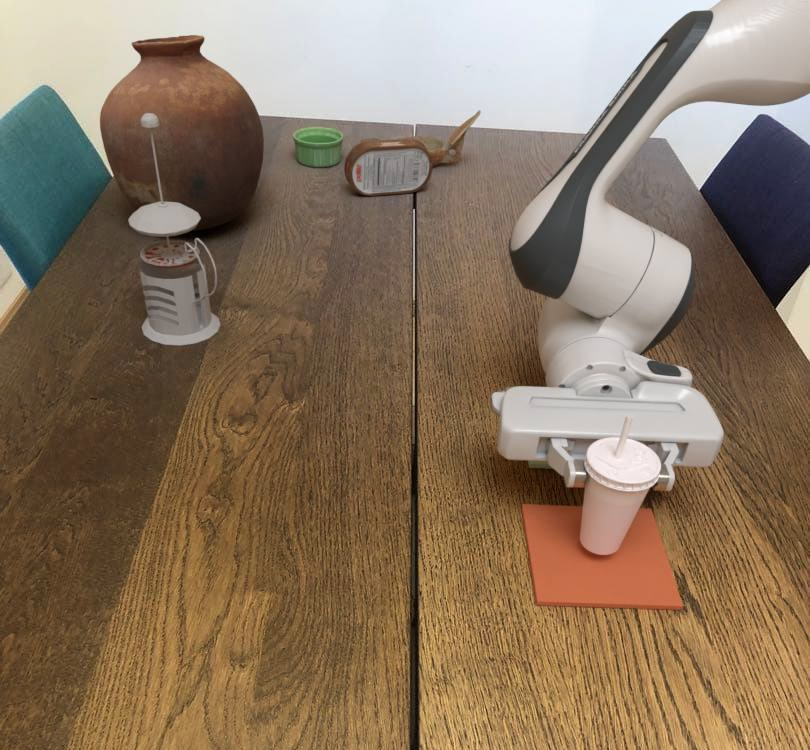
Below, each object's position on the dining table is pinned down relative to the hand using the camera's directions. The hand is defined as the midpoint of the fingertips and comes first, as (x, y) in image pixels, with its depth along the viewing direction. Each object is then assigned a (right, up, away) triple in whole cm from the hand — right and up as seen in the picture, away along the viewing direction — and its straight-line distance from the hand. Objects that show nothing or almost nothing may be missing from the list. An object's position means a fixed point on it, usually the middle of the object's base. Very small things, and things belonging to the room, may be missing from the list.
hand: (621, 483), depth 70 cm
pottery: (-51, +45, +58) cm, 89 cm away
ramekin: (-34, +64, +79) cm, 108 cm away
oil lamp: (-16, +64, +81) cm, 105 cm away
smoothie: (0, -5, +6) cm, 8 cm away
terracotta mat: (0, -6, +7) cm, 10 cm away
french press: (-46, +22, +34) cm, 62 cm away
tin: (-21, +54, +70) cm, 91 cm away
